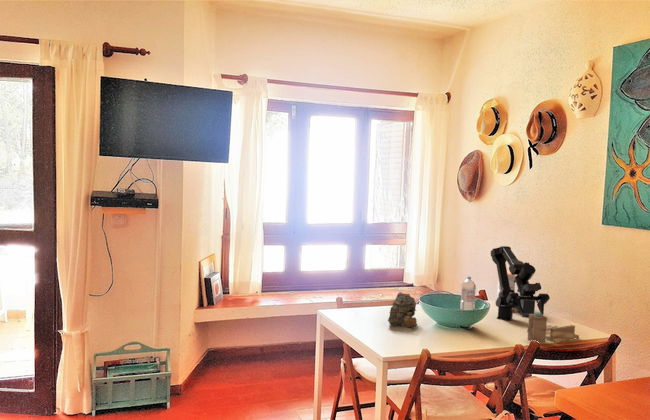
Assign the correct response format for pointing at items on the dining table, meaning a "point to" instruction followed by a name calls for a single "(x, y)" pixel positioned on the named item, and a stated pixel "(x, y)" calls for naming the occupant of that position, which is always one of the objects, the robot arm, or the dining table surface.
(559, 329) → the cleat board
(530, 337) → the wooden block
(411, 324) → the rock
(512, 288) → the cracker box
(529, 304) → the small box
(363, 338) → the dining table surface
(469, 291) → the water bottle
